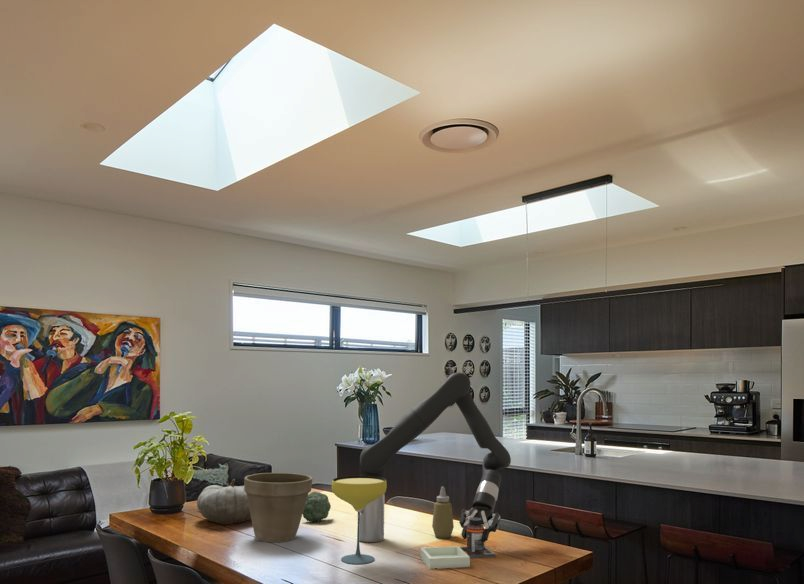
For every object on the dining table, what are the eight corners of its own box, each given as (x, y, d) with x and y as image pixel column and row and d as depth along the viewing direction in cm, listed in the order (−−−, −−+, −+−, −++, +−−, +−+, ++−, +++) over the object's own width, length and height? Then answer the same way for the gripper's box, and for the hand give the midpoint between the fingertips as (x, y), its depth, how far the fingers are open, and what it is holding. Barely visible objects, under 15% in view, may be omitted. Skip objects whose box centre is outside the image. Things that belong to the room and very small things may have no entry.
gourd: (225, 524, 234) (226, 477, 240) (181, 527, 246) (183, 482, 252) (272, 520, 254) (271, 476, 260) (229, 523, 267) (230, 481, 272)
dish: (429, 568, 190) (429, 558, 191) (420, 557, 203) (420, 547, 203) (469, 566, 193) (469, 556, 193) (458, 555, 205) (458, 546, 206)
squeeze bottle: (452, 539, 226) (452, 488, 228) (430, 538, 227) (430, 488, 230) (454, 534, 233) (454, 485, 236) (433, 533, 235) (433, 484, 238)
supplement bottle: (465, 551, 211) (465, 516, 212) (482, 551, 211) (482, 516, 213) (468, 556, 205) (468, 520, 206) (486, 555, 205) (485, 520, 207)
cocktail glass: (325, 567, 191) (327, 483, 195) (334, 551, 209) (336, 475, 213) (383, 568, 190) (384, 484, 194) (387, 552, 208) (388, 476, 212)
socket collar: (465, 558, 202) (465, 555, 202) (456, 550, 212) (456, 546, 212) (495, 557, 204) (495, 553, 204) (485, 548, 214) (485, 545, 214)
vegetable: (326, 509, 267) (340, 498, 256) (312, 535, 258) (325, 525, 247) (304, 493, 266) (316, 481, 256) (288, 518, 257) (300, 507, 247)
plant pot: (323, 534, 232) (325, 474, 236) (284, 549, 210) (287, 484, 214) (269, 527, 243) (271, 470, 246) (226, 541, 221) (230, 478, 224)
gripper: (464, 489, 221) (450, 530, 209) (502, 492, 214) (490, 535, 202) (470, 502, 225) (457, 543, 213) (508, 506, 218) (496, 549, 206)
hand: (473, 539), depth 207 cm, fingers open, 6 cm apart
